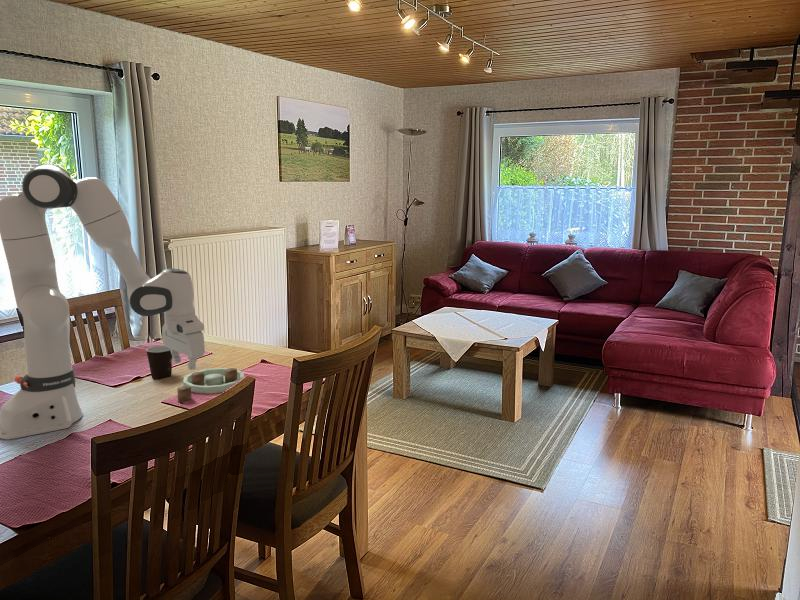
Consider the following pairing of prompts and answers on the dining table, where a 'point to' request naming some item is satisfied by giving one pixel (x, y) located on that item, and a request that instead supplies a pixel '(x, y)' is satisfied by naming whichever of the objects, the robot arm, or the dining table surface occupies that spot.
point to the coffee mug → (160, 361)
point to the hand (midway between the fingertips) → (184, 365)
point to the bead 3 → (230, 375)
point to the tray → (215, 387)
